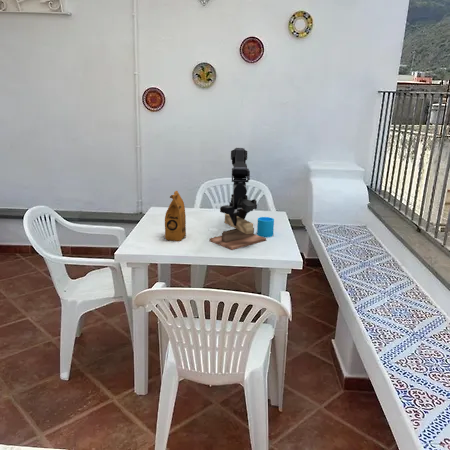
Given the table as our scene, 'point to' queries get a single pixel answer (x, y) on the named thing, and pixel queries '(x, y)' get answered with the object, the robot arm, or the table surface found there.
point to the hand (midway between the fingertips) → (238, 225)
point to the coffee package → (175, 219)
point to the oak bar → (240, 224)
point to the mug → (265, 227)
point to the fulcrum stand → (236, 239)
